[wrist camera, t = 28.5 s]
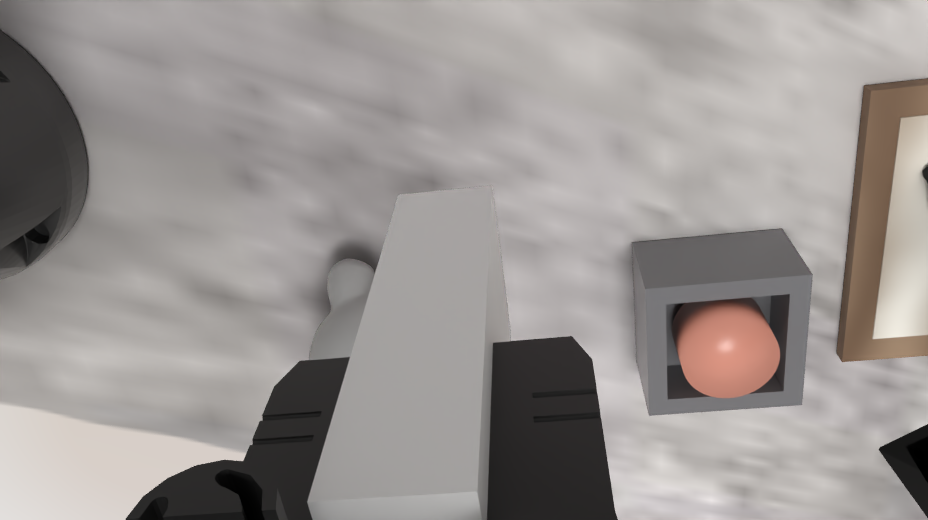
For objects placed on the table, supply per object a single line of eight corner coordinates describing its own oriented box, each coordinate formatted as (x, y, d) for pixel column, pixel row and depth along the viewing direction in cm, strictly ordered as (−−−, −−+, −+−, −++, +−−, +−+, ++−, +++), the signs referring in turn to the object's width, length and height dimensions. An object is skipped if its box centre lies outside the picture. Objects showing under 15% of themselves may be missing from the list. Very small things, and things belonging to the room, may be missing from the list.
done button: (672, 367, 45) (682, 401, 42) (671, 292, 43) (681, 324, 40) (761, 360, 44) (777, 394, 42) (765, 284, 42) (782, 316, 39)
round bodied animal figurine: (341, 360, 53) (315, 484, 47) (321, 240, 43) (285, 378, 38) (452, 369, 52) (438, 495, 47) (455, 251, 43) (438, 391, 38)
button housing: (636, 361, 48) (648, 415, 44) (631, 242, 45) (645, 289, 40) (775, 350, 47) (802, 404, 43) (782, 228, 44) (812, 274, 39)
